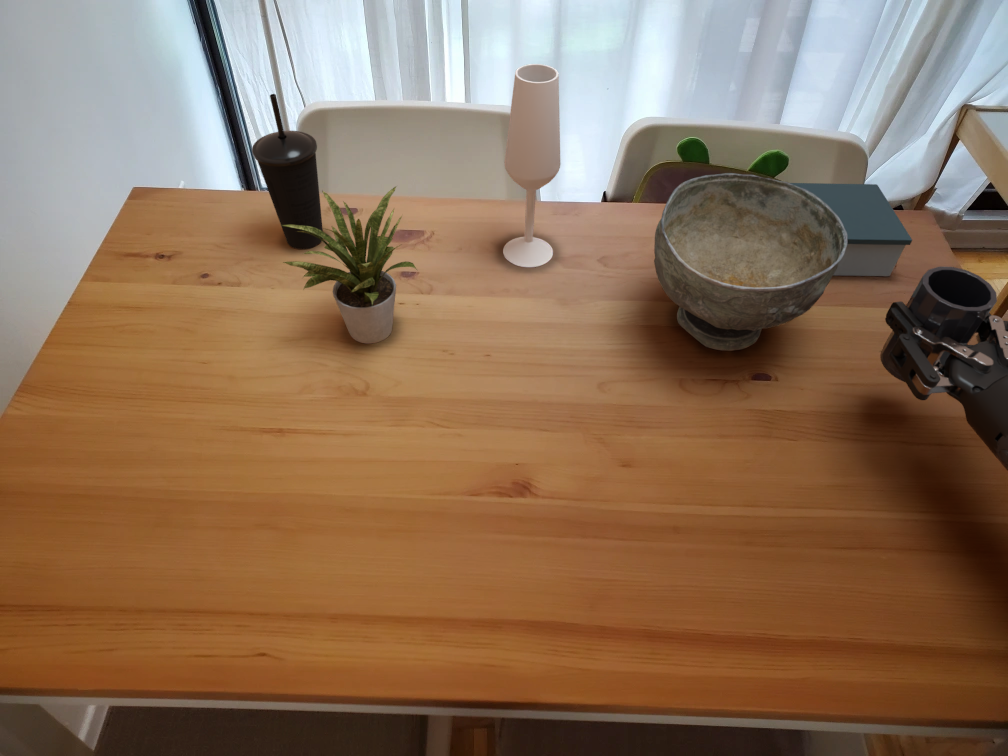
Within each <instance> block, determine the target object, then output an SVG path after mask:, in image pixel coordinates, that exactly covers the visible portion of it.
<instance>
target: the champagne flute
mask: <svg viewBox="0 0 1008 756" xmlns="http://www.w3.org/2000/svg"><path fill="white" fill-rule="evenodd" d="M512 87H513V88H512V96H511V103H510V104H511V105H510V112H509V113H510V114H509V121H508V129H507V138H506V147H505V155H504V169H505V171H506V173H507V174H508V176H509V177H510V179H511V180H512V181H513V182H514V183H516V184H517V185H518V186H519V187H521V189H524V190H525V212H524V234H523V236H519V237H515V238H512V239H510V240H509V241H507V242H506V244H505V245H504V246H503V249H502V253H503V257H504V258H505V259H506V260H507V261H508V262H509V263H511V264H512V265H515V266H518V267H522V268H535V267H536V268H537V267H540V266H543V265H545V264H547V263H548V262H550V260H551V259H552V258H553V255H554V249H553V248H552V246H551V244H549V242H547V241H546V240H544V239H542V238H539V237H535V236H534V231H535V214H536V195H537V194H536V193H537V190H540V189H542V188H543V187H544V186H546V185H548V184H549V183H551V182H552V180H554V178H555V177H557V174H559V171H560V169H561V127H560V126H561V123H560V119H561V117H560V76H559V71H558V70H557V68H555V67H553V66H551V65H548V64H544V63H529V64H524V65H521V66H519V67H518V68H517V69H516V70H515V72H514V80H513V86H512Z"/></svg>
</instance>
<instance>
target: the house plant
mask: <svg viewBox="0 0 1008 756" xmlns="http://www.w3.org/2000/svg"><path fill="white" fill-rule="evenodd" d="M396 189H397V186H394V187H393V188H391V189H390V190H389V191H387V193H386V194H384V196H382V198H381V200H380V202H379V203H378V205H377V207H376V208H375V210H374V211H373V212H372V213H371V214H370V216H369V218H368V220H367V222H366V224H365V229H364V233H363V226H362V221H361V220H360V218H357V220H356V219H355V216H354V213H353V212H352V209H351V208H350V207H349V205H348V204H347V202H345V201H344V200H342V202H343V205H344V207H345V211H346V213H347V214H346V215H347V216H348V220H349V224H350V228H351V233H352V235H353V238H354V240H353V238H352V236H351V233H350V231H349V229H348V226H347V223H346V221H345V217H344V214H343V213H342V210H341V208H340V206H339V205H338V203H336V201H335V200H334V199H333V198H332V197H331V196H330V195H329V194H328V193H327V192H325V190H321V192H322V193H323V196H324V198H325V199H326V201H327V203H328V205H329V207H330V209H331V211H332V214H333V217H334V219H335V222H336V226H337V228H338V230H337V229H336V228H335V227H334V226H333V225H331V228H332V229H328V228H324V227H322V228H323V229H325V230H327V231H329V232H332V233H333V235H334V238H333V237H332V236H330V234H327V233H326V232H324V230H323V231H321V230H319V229H317V228H315V227H310V226H301V225H282V226H287V227H292V228H297V229H301V230H305V231H297V232H305V233H309V234H311V235H314V236H316V237H317V238H319V239H320V240H322V242H323V244H325V246H323V248H324V249H325V250H328V251H330V252H333V253H334V254H335V255H336V256H337V257H338V258H339V259H340V260H341V261H340V260H339V259H338V258H335V257H334V256H332V255H330V254H329V253H326V252H323V251H320V250H307V251H305V252H304V253H303V255H319V256H325V257H328V258H330V259H333V260H335V261H337V262H339V263H341V262H342V265H343V266H344V267H345V268H346V269H348V270H349V271H345V270H342V269H341V268H336V267H333V266H328V265H322V264H318V263H313V262H309V261H301V260H295V261H283V262H282V263H283V264H286V265H289V266H290V267H297V268H301V269H303V270H305V271H307V272H306V273H305V274H304V275H303V276H302V278H305V277H307V278H309V279H308V280H307V282H306V283H305V285H304V287H303V289H302V291H305V289H309V288H313V287H314V286H317V285H319V284H322V283H326V282H329V281H332V282H333V281H334V282H335V283H334V285H333V287H332V295H333V298H334V301H335V303H336V306H337V308H338V310H339V312H340V315H341V317H342V319H343V322H344V324H345V326H346V328H347V331H348V333H349V335H350V337H351V338H352V339H353V340H355V341H356V342H358V343H362V344H377V343H379V342H383V341H385V340H386V339H387V338H389V336H390V335H391V334H392V331H393V325H394V324H393V323H394V313H395V305H396V304H395V302H396V293H397V283H396V280H395V279H394V278H393V276H392V275H391V274H390V273H388V272H390V271H391V270H395V269H399V268H413V269H415V270H416V271H418V268H417V267H416V266H415V264H414V262H411V261H406V260H405V261H400V262H398V263H395V264H393V265H391V266H389V267H388V268H387V269H386V270H383V269H384V267H385V265H386V263H387V262H388V260H389V259H390V257H391V256H392V255H393V252H394V251H395V249H397V248H399V247H400V246H402V245H403V244H400V245H397V246H389V245H390V244H391V242H392V240H394V239H393V237H394V234H395V233H396V230H397V228H398V226H399V224H400V222H401V219H402V217H403V213H402V215H401V216H400V217H399V219H398V220H397V221H396V223H395V224H394V226H393V227H392V229H391V231H390V233H389V234H388V236H386V234H387V232H388V230H389V228H390V225H391V222H392V218H393V216H394V211H395V207H393V210H392V211H391V212H390V214H389V216H388V217H387V219H386V221H385V224H384V226H383V229H382V231H381V233H380V235H379V232H380V228H381V225H382V222H383V217H384V215H385V213H386V212H387V209H388V206H389V203H390V200H391V198H392V195H393V194H394V193H395V191H396ZM307 231H308V232H307ZM319 236H320V237H319ZM321 237H322V238H323V239H322V238H321ZM418 272H419V271H418Z"/></svg>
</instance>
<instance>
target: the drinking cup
mask: <svg viewBox="0 0 1008 756" xmlns="http://www.w3.org/2000/svg"><path fill="white" fill-rule="evenodd" d="M269 98H270V102H271V107H272V111H273V116H274V120H275V125H276V128H277V131H275V132H271V133H268V134H266V135H263V136H262V137H259V138H258V139H257V140H256V141H255V142H254V143H253V145H252V148H251V152H252V153H251V154H252V156H253V158H254V160H256V161H257V163H258V166H259V169H260V172H261V174H262V178H263V180H264V183H265V186H266V188H267V191H268V193H269V197H270V199H271V202H272V205H273V208H274V210H275V212H276V216H277V218H278V221H279V224H280V226H281V230H282V232H283V235H284V237H285V240H286V242H287V245H288V246H289V247H291V248H293V249H295V250H309V249H313V248H315V247H317V246H319V245H320V244H321V243H322V242H323V241H322V240H320V239H319V238H317V237H316V236H314V235H311V234H309V233H305V232H297V231H305V230H301V229H297V228H292V227H287V226H282V225H301V226H310V227H315V228H317V229H319V230H321V231H323V232H324V230H323V228H324V227H323V220H322V219H323V217H322V207H321V197H320V187H319V186H320V185H319V175H318V165H317V164H318V163H317V154H316V152H317V150H318V143H317V140H316V139H315V137H313V136H312V135H311V134H309V133H307V132H304V131H300V130H285V129H284V125H283V121H282V116H281V112H280V108H279V103H278V98H277V94H276V93H270V95H269ZM307 232H308V231H307ZM319 237H320V236H319ZM321 238H322V237H321ZM322 239H323V238H322ZM323 240H324V239H323Z"/></svg>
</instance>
